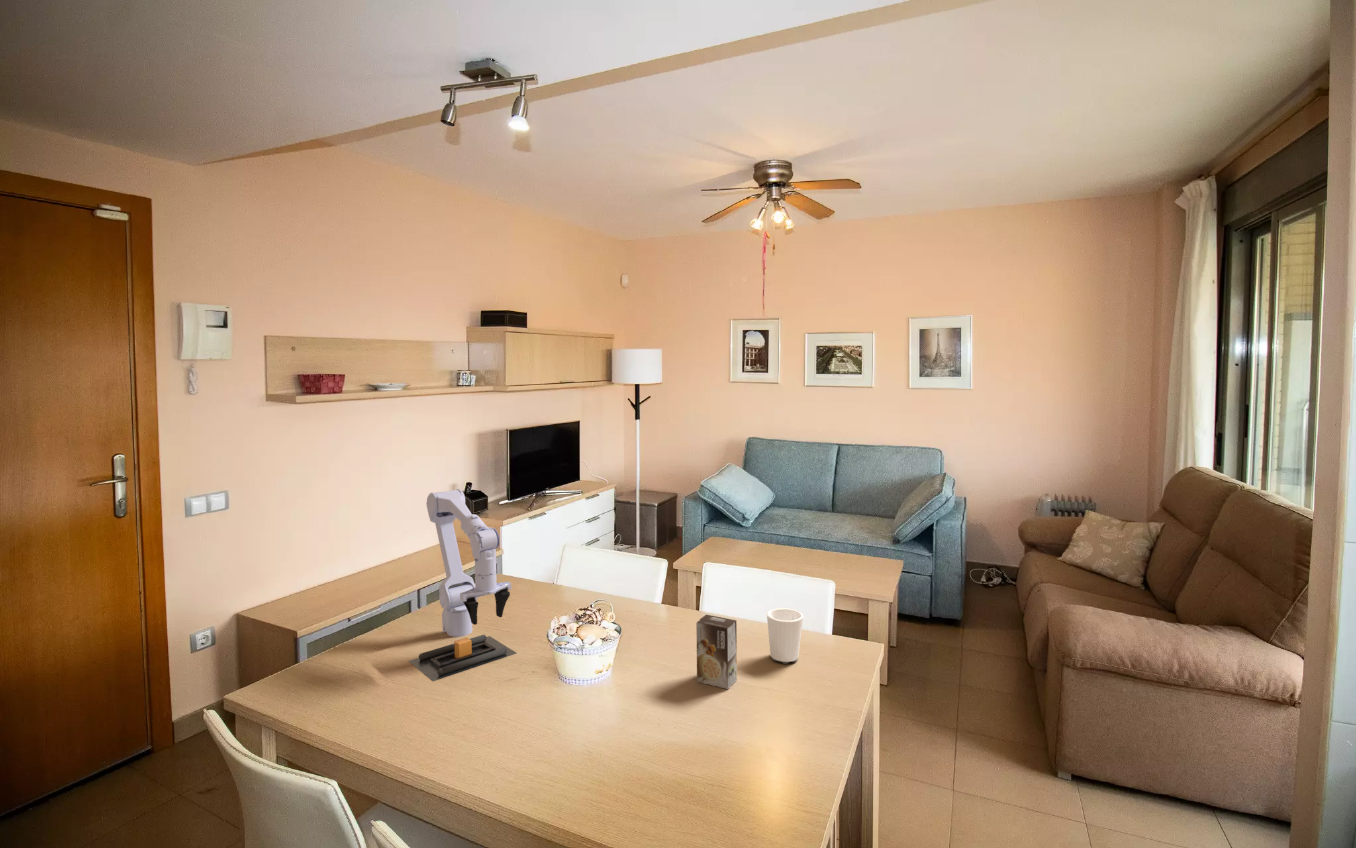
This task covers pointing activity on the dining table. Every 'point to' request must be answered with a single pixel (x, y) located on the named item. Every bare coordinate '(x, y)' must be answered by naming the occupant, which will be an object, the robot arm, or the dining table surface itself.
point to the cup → (784, 634)
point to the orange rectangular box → (463, 647)
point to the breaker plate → (459, 659)
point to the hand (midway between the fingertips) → (486, 619)
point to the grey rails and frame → (466, 662)
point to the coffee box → (716, 651)
